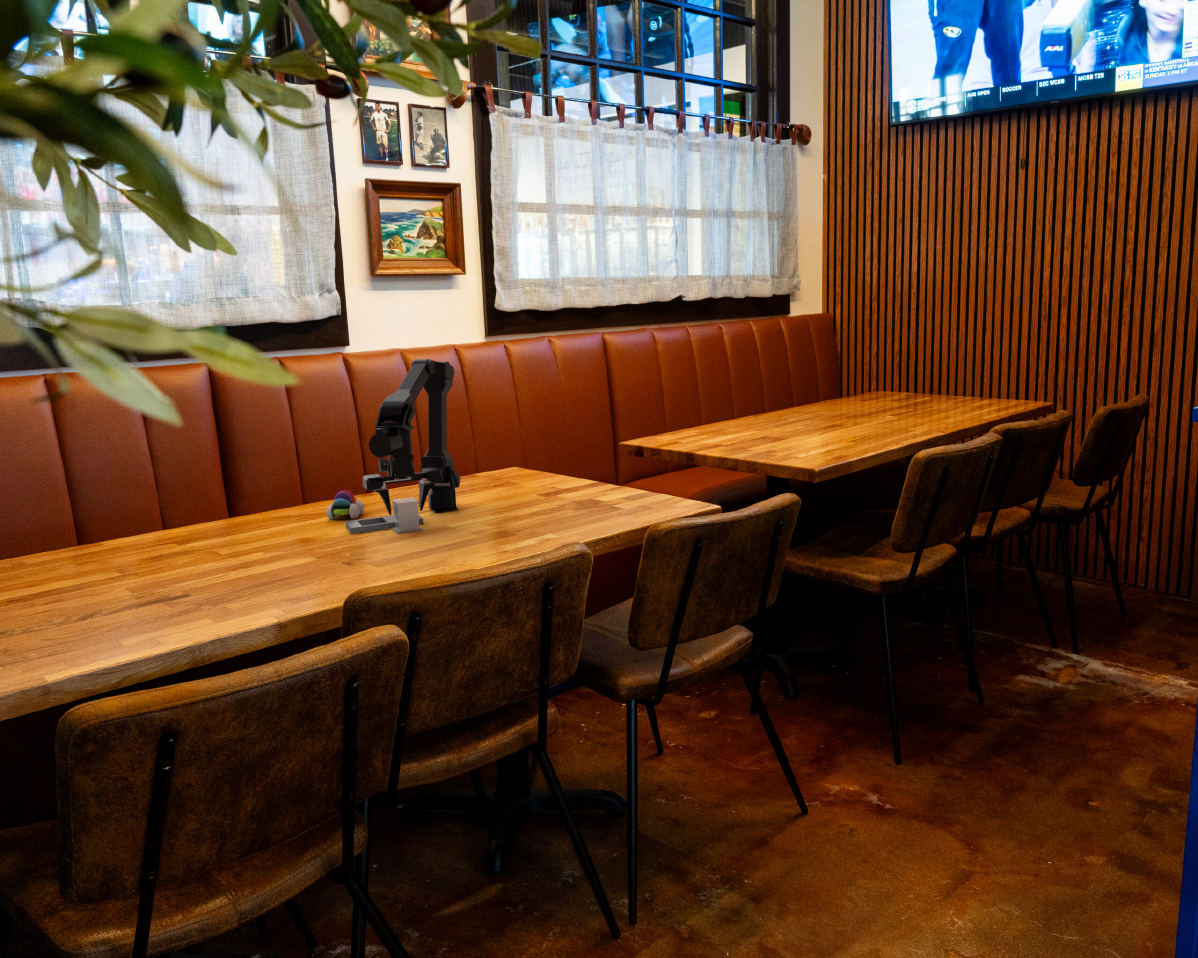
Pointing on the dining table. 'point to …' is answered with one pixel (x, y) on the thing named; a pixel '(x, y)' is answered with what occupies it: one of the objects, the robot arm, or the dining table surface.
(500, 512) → the dining table surface
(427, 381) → the robot arm
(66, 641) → the dining table surface
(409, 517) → the brushed metal block
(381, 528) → the plate with rectangular hole
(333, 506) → the rainbow dome toy
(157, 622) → the dining table surface
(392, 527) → the pad
